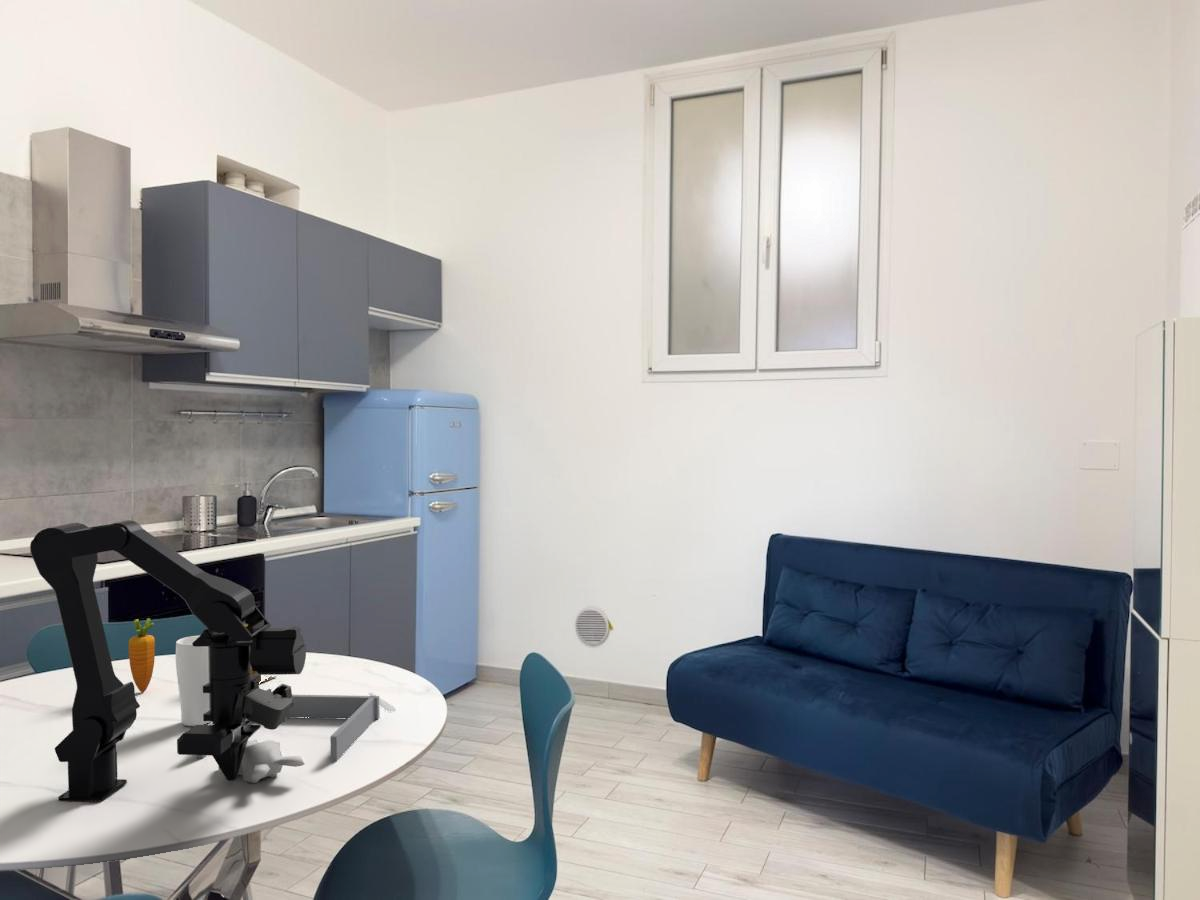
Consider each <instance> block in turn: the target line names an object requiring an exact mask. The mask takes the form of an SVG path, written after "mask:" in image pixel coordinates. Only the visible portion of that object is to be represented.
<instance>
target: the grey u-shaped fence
mask: <svg viewBox="0 0 1200 900" xmlns="http://www.w3.org/2000/svg"><path fill="white" fill-rule="evenodd" d="M292 698H294V699H293V703H294V706H293V707H292V708H291V709H289V712H288V715H287V717H304V718H303V719H314V718H349V719H345V720H346V721H345V720H344V722H343V723H342V724H341V725H340V726H339V727H338V728H337V729H336V730H335V731H333V732H332V734H331V735H330V737H329V738H330V762H338V761H339V760H340V759H341V758H342V757H343V756H344V754H345V753H346V752H347V751H348V750H349V749H350V748H351V747H352V745H353V744H354V743H355V742H356V741H357V740H358V739H359V738H360V737H361V736H362V735H361V734H364V732H365V731H366V730H367V729H369V727H370V726H371V725H370V724H371V723H372V722H373V723H374V721H376V720H375V719H378V720H379V719H380V718H381V717H380V713H381V712H380V711H381V710H380V708H381V707H380V706H379V698H380V695H376V696H369V695H340V694H339V695H335V694H333V695H331V694H330V695H329V694H326V695H325V694H292ZM305 717H307V718H305ZM308 717H309V718H308ZM249 721H250V720H249ZM373 723H372V724H373ZM209 725H213V724H212V722H210V724H209ZM369 725H370V726H369ZM368 726H369V727H368ZM365 729H366V730H365ZM364 730H365V731H364ZM360 735H361V736H360ZM359 736H360V737H359ZM358 737H359V738H358ZM357 738H358V739H357ZM356 739H357V740H356ZM355 740H356V741H355ZM354 741H355V742H354ZM352 743H353V744H352ZM351 744H352V745H351ZM350 746H351V747H350ZM349 747H350V748H349ZM348 748H349V749H348ZM347 749H348V750H347ZM346 750H347V751H346ZM345 751H346V752H345ZM343 753H344V754H343ZM205 756H206V755H196V759H199V758H201V759H204V758H206V757H207V756H206V757H205ZM339 758H340V759H339ZM201 759H200V760H201ZM338 759H339V760H338ZM337 760H338V761H337Z"/></svg>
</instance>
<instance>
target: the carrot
mask: <svg viewBox="0 0 1200 900" xmlns="http://www.w3.org/2000/svg"><path fill="white" fill-rule="evenodd" d="M133 624H134V628H135V631H136V633H137V635H135V636H132V637H131V638H130V639H128V658H129V667H130V672H131V677H132V679H133V683H134V685H135V686H136V687H137V689H138V691H140V692H141V693H145V691H147V688H148V687H149V685H150V682H151V679H152V678H153V672H154V667H155V654H156V653H155V652H156V650H155V649H156V648H155V647H156V644H155V643H156V641H155V637H154V636H153V635H150V634H147V633H148V631H149V630H150V629H151V628H152V627H153V626H155V623H154V622H151V618H149V617H148V618H146V620H145V623H144V626H142V625H141V624H140V620H139V618H137V619H134V620H133Z"/></svg>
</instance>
